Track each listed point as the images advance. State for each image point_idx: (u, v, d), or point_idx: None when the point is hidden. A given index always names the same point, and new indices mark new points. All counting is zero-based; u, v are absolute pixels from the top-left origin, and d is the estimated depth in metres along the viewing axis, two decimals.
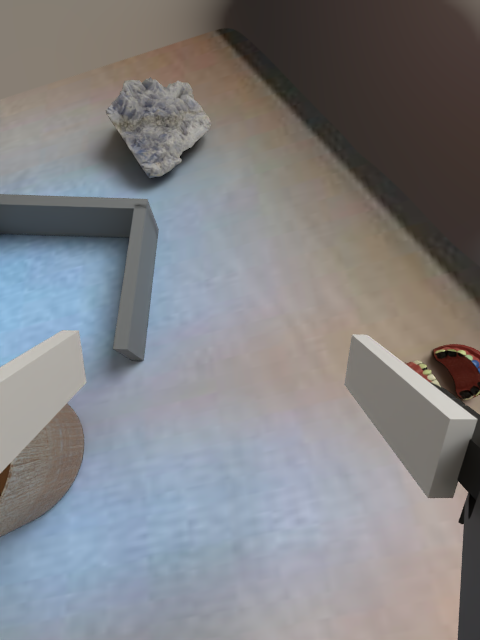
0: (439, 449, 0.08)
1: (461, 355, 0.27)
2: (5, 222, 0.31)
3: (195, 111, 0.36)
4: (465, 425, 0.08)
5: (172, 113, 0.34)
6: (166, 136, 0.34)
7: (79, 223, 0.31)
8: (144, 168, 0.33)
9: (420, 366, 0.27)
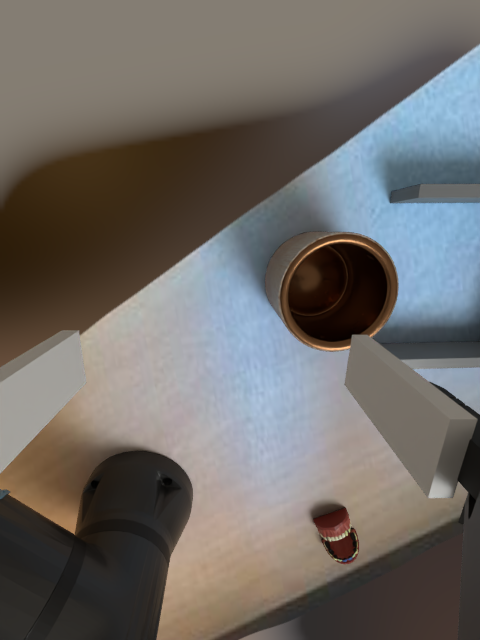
0: (439, 449, 0.08)
1: (354, 550, 0.43)
2: None
3: None
4: (465, 425, 0.08)
5: None
6: None
7: None
8: None
9: (349, 528, 0.43)
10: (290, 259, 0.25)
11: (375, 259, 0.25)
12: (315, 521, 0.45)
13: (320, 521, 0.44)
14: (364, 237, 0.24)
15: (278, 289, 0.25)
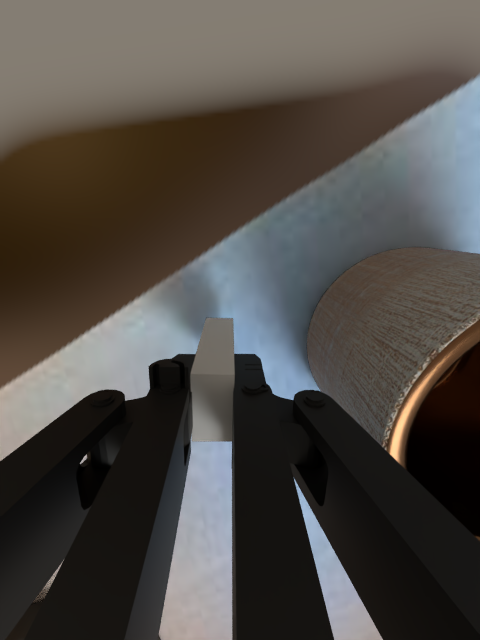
0: (212, 400, 0.10)
1: None
2: None
3: None
4: (226, 379, 0.10)
5: None
6: None
7: None
8: None
9: None
10: (429, 341, 0.08)
11: None
12: None
13: None
14: None
15: (382, 419, 0.09)
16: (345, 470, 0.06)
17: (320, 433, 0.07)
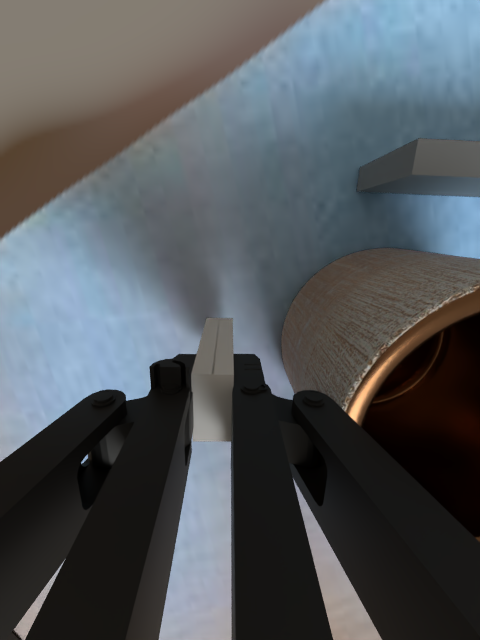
0: (211, 400, 0.10)
1: None
2: None
3: None
4: (225, 379, 0.10)
5: None
6: None
7: None
8: None
9: None
10: (381, 336, 0.08)
11: None
12: None
13: None
14: None
15: None
16: (344, 470, 0.06)
17: (319, 433, 0.07)
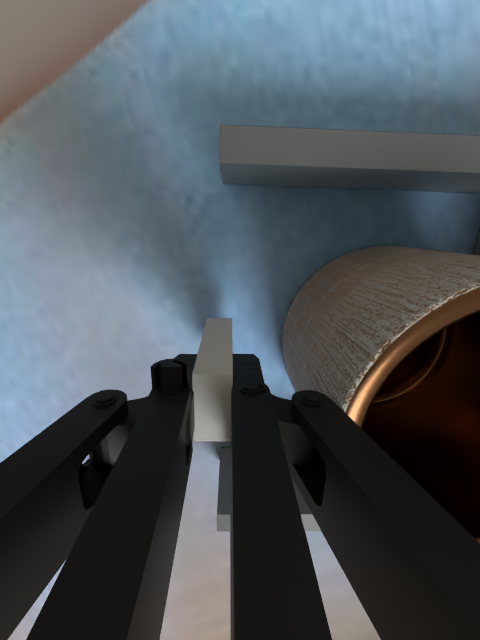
0: (210, 400, 0.10)
1: None
2: None
3: None
4: (224, 379, 0.10)
5: None
6: None
7: None
8: None
9: None
10: (383, 332, 0.08)
11: None
12: None
13: None
14: None
15: None
16: (343, 470, 0.06)
17: (318, 433, 0.07)
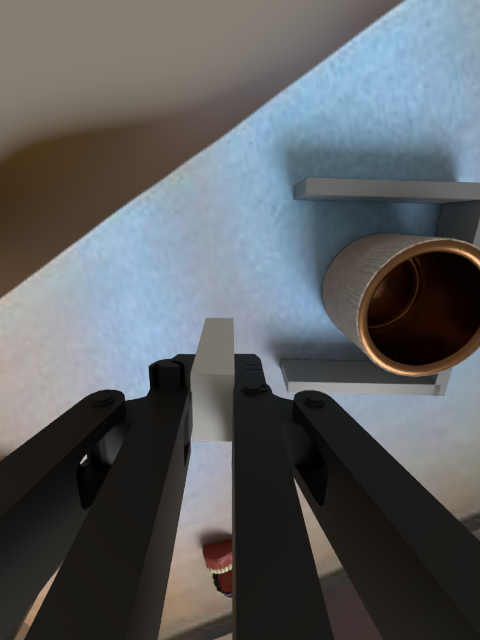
0: (212, 400, 0.10)
1: None
2: (452, 228, 0.26)
3: None
4: (226, 379, 0.10)
5: None
6: None
7: None
8: None
9: None
10: (378, 265, 0.21)
11: (478, 274, 0.21)
12: (203, 549, 0.41)
13: (207, 550, 0.41)
14: (472, 246, 0.20)
15: (358, 299, 0.21)
16: (345, 470, 0.06)
17: (320, 433, 0.07)
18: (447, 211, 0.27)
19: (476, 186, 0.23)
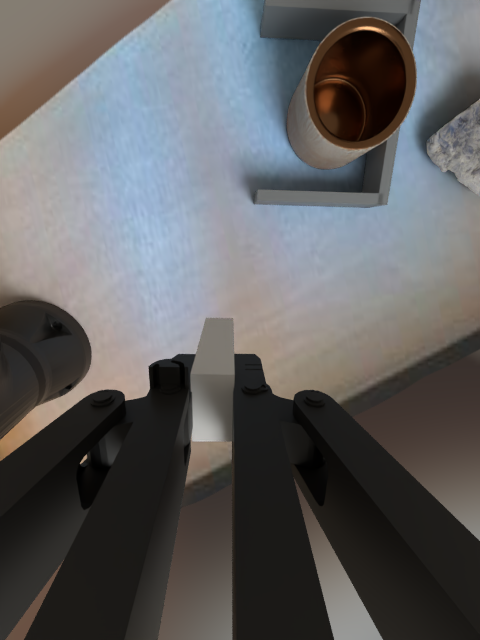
0: (212, 400, 0.10)
1: None
2: None
3: None
4: (225, 379, 0.10)
5: None
6: (468, 153, 0.34)
7: None
8: (433, 136, 0.35)
9: None
10: (319, 44, 0.26)
11: (397, 54, 0.27)
12: None
13: None
14: (390, 24, 0.26)
15: (305, 76, 0.27)
16: (345, 470, 0.06)
17: (320, 433, 0.07)
18: None
19: (399, 1, 0.29)
